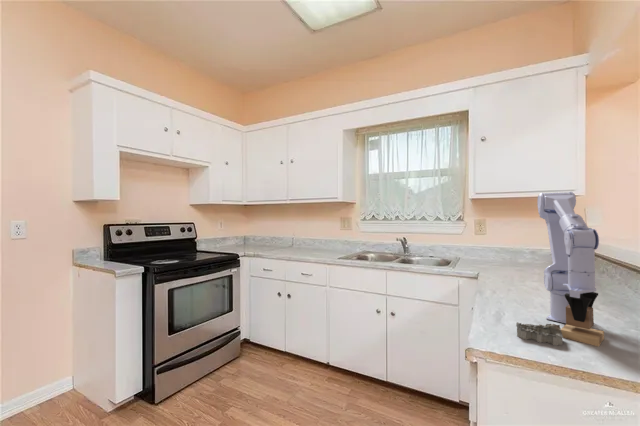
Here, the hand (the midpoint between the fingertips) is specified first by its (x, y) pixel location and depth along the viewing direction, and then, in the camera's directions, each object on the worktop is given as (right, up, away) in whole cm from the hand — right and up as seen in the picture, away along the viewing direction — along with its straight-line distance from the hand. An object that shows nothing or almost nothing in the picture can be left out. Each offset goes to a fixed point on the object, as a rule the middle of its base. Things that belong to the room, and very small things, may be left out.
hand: (581, 318), depth 82 cm
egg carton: (-13, -6, 0) cm, 14 cm away
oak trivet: (0, -6, 0) cm, 6 cm away
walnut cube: (0, -2, 0) cm, 2 cm away
